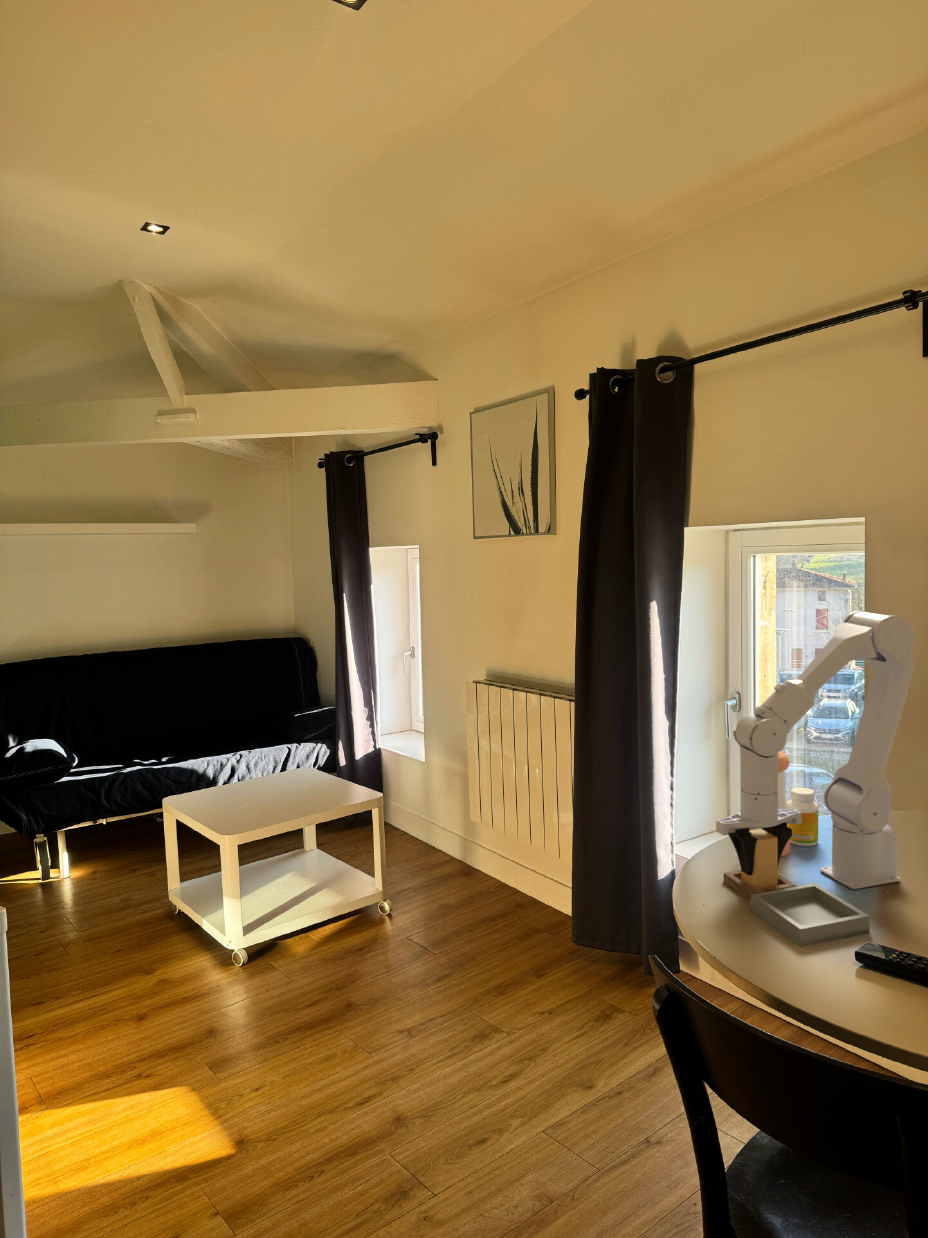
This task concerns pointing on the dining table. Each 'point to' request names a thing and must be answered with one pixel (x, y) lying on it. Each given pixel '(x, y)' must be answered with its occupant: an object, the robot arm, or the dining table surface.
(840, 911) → the tray
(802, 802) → the supplement bottle
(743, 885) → the socket collar
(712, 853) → the dining table surface
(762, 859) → the tan rectangular block
